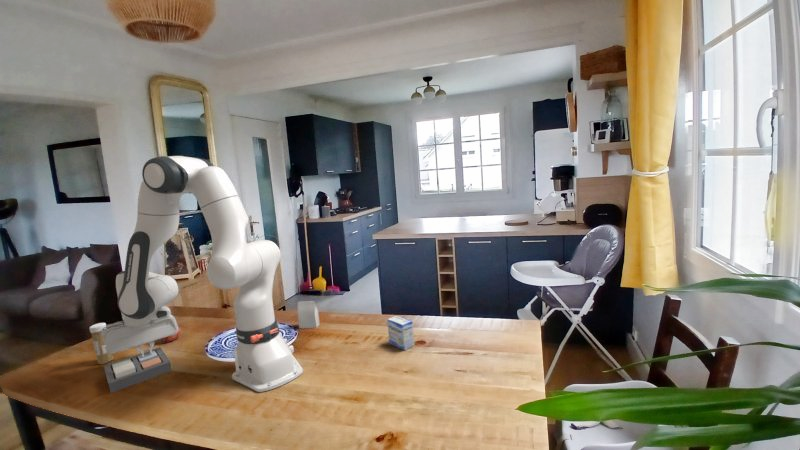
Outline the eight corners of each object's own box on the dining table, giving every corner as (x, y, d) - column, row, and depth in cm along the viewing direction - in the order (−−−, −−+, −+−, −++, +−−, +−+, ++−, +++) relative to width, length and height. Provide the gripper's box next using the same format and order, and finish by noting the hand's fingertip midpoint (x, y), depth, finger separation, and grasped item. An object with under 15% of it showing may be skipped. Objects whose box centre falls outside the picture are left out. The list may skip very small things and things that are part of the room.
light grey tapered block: (316, 328, 147) (313, 303, 146) (299, 328, 148) (296, 303, 146) (319, 324, 151) (316, 299, 149) (303, 324, 152) (299, 300, 150)
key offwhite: (136, 374, 120) (135, 367, 119) (116, 381, 116) (115, 374, 116) (134, 369, 123) (132, 362, 123) (115, 375, 120) (113, 368, 120)
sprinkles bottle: (113, 361, 135) (105, 324, 133) (97, 366, 132) (88, 329, 130) (114, 356, 138) (106, 321, 136) (98, 361, 136) (89, 324, 134)
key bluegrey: (158, 361, 129) (157, 354, 129) (141, 367, 126) (139, 360, 126) (155, 356, 133) (154, 350, 133) (138, 362, 130) (137, 356, 130)
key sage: (133, 370, 125) (132, 363, 125) (115, 376, 122) (113, 369, 121) (131, 365, 129) (130, 358, 128) (113, 371, 125) (111, 364, 125)
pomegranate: (157, 350, 145) (170, 336, 142) (148, 334, 147) (160, 320, 143) (175, 343, 152) (188, 330, 149) (167, 328, 154) (179, 314, 150)
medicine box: (388, 343, 129) (386, 319, 127) (398, 339, 132) (396, 314, 130) (405, 351, 123) (402, 325, 122) (415, 345, 126) (412, 320, 124)
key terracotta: (163, 368, 124) (161, 361, 124) (144, 375, 121) (143, 368, 121) (160, 363, 128) (158, 356, 128) (142, 369, 125) (140, 362, 124)
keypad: (172, 370, 124) (170, 361, 124) (110, 393, 114) (108, 383, 113) (161, 355, 136) (160, 347, 136) (105, 374, 126) (103, 365, 125)
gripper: (100, 329, 118) (109, 371, 120) (175, 308, 131) (182, 346, 134) (98, 324, 123) (107, 364, 125) (171, 304, 136) (178, 341, 138)
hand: (147, 355), depth 129 cm, fingers closed, pressing on key bluegrey
